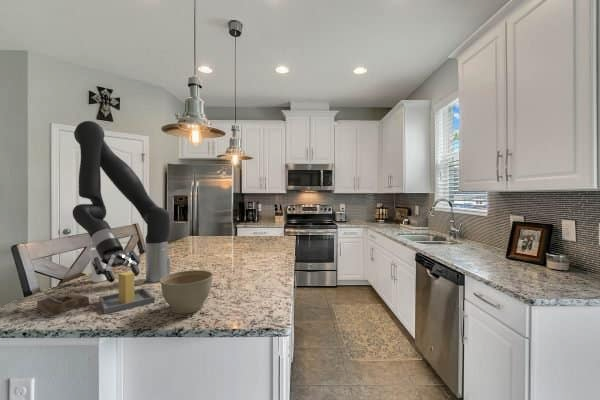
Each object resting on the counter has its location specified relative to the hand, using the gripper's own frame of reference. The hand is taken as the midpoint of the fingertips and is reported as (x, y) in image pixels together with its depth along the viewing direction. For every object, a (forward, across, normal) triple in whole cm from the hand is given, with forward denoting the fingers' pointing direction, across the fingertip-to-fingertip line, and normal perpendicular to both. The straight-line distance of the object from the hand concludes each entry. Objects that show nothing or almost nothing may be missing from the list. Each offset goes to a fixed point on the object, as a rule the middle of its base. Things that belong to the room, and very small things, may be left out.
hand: (125, 277), depth 98 cm
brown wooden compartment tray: (-5, -12, +17) cm, 22 cm away
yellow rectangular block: (+6, 0, +6) cm, 8 cm away
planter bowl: (+24, +6, -11) cm, 27 cm away
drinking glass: (-20, +10, +33) cm, 40 cm away
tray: (+6, 0, +6) cm, 9 cm away
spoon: (-4, +9, +17) cm, 19 cm away
